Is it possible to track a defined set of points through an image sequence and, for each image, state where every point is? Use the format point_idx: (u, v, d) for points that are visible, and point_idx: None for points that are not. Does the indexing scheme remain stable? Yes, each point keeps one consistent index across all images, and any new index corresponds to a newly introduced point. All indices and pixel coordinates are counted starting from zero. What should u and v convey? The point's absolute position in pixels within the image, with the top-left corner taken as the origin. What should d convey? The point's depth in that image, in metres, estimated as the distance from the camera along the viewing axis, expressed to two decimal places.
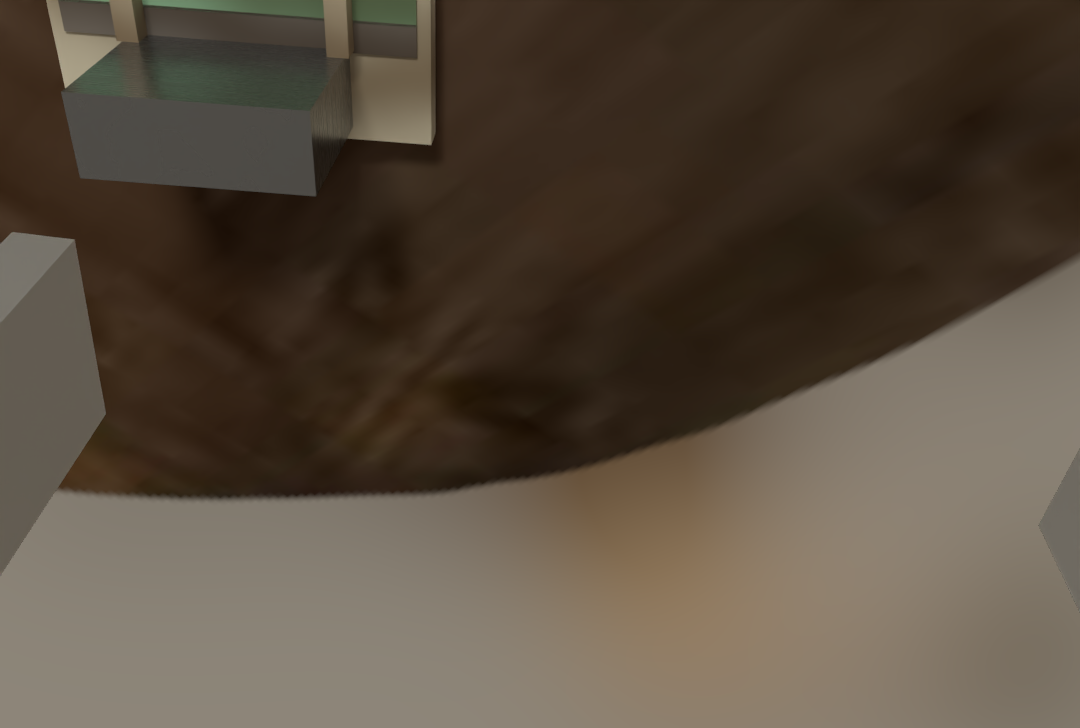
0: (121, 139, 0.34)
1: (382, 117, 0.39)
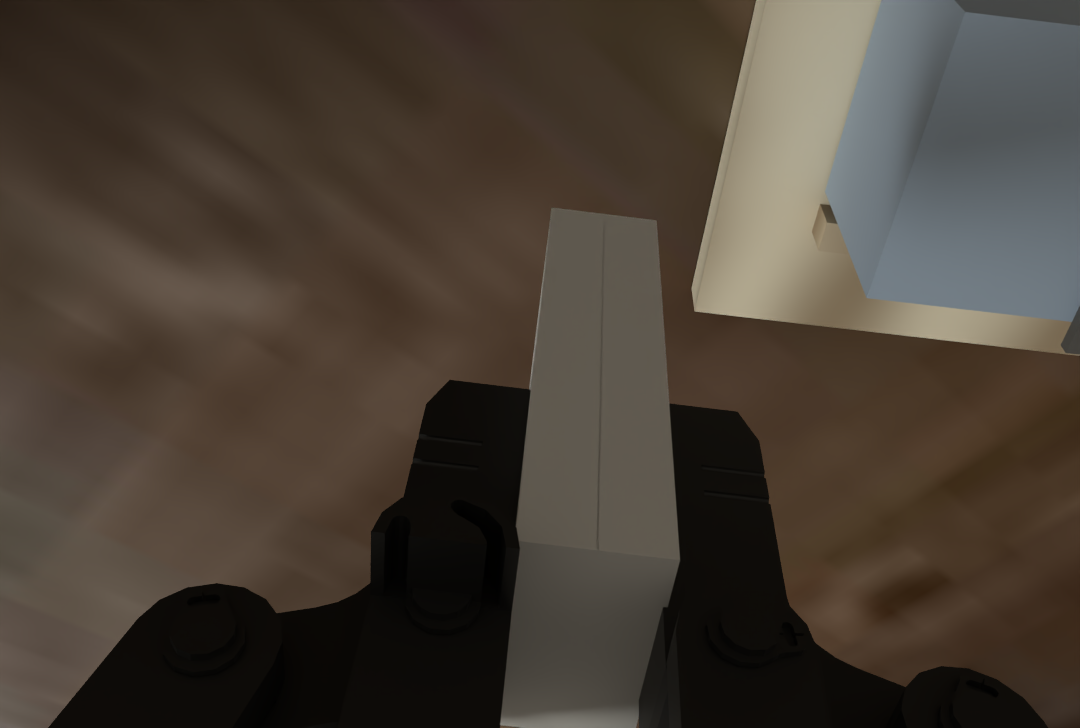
0: None
1: None
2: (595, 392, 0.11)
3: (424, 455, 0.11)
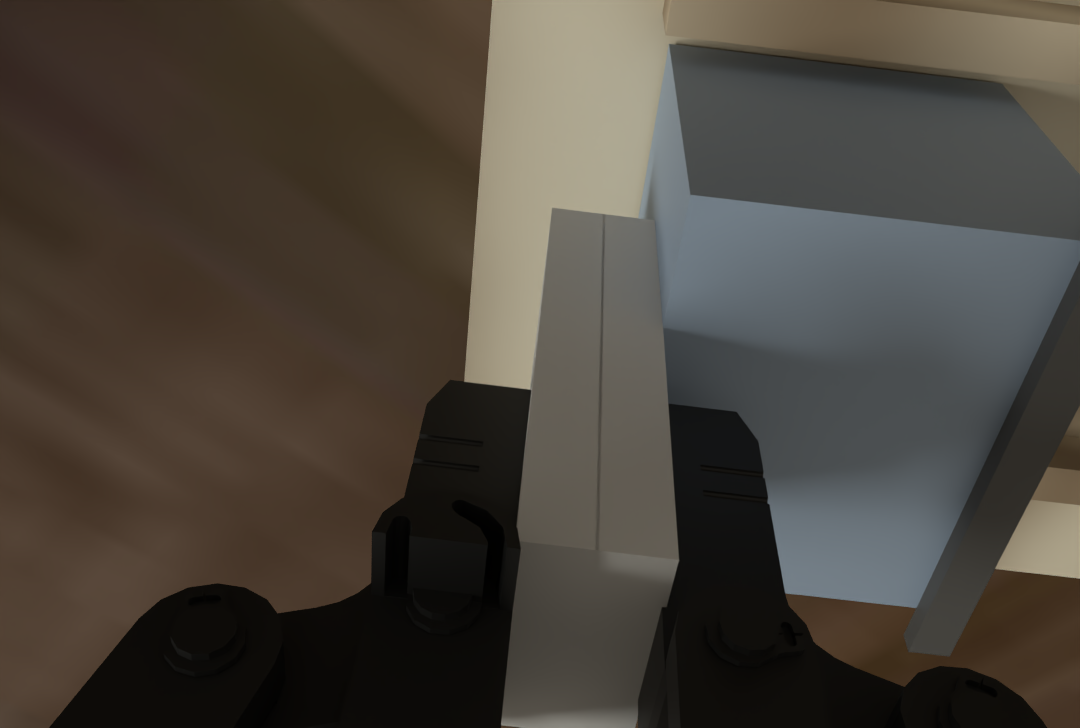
0: None
1: None
2: (595, 392, 0.11)
3: (425, 455, 0.11)
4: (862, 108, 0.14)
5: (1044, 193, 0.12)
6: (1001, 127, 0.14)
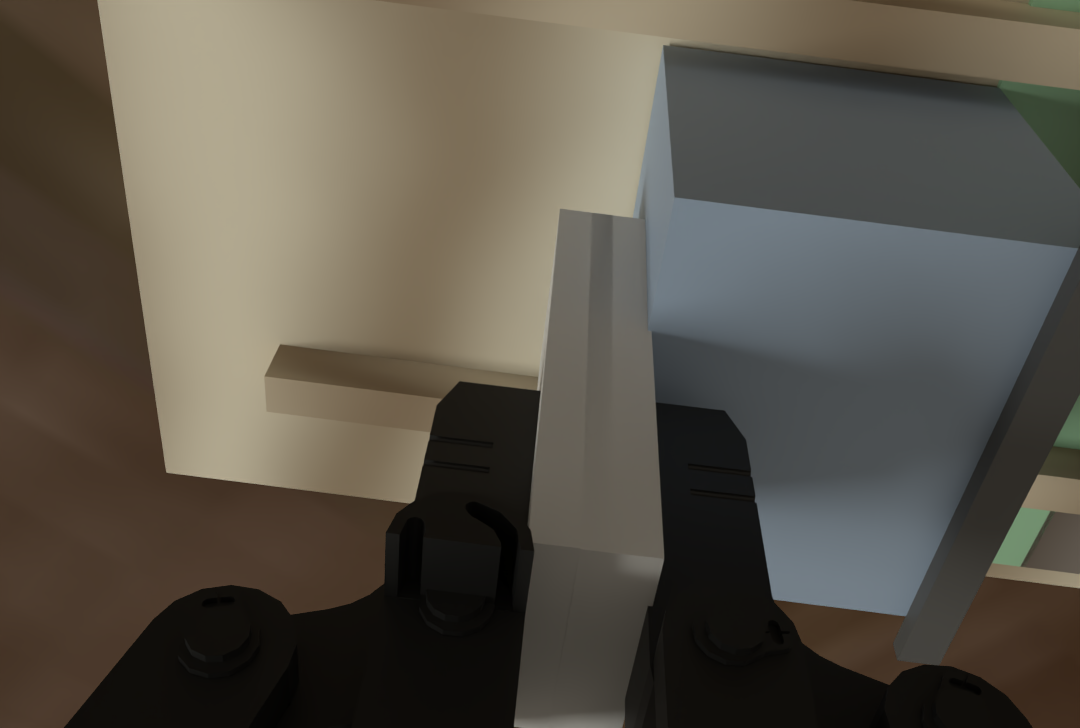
0: None
1: None
2: (606, 393, 0.11)
3: (435, 456, 0.11)
4: (855, 111, 0.14)
5: (1036, 199, 0.12)
6: (996, 132, 0.14)
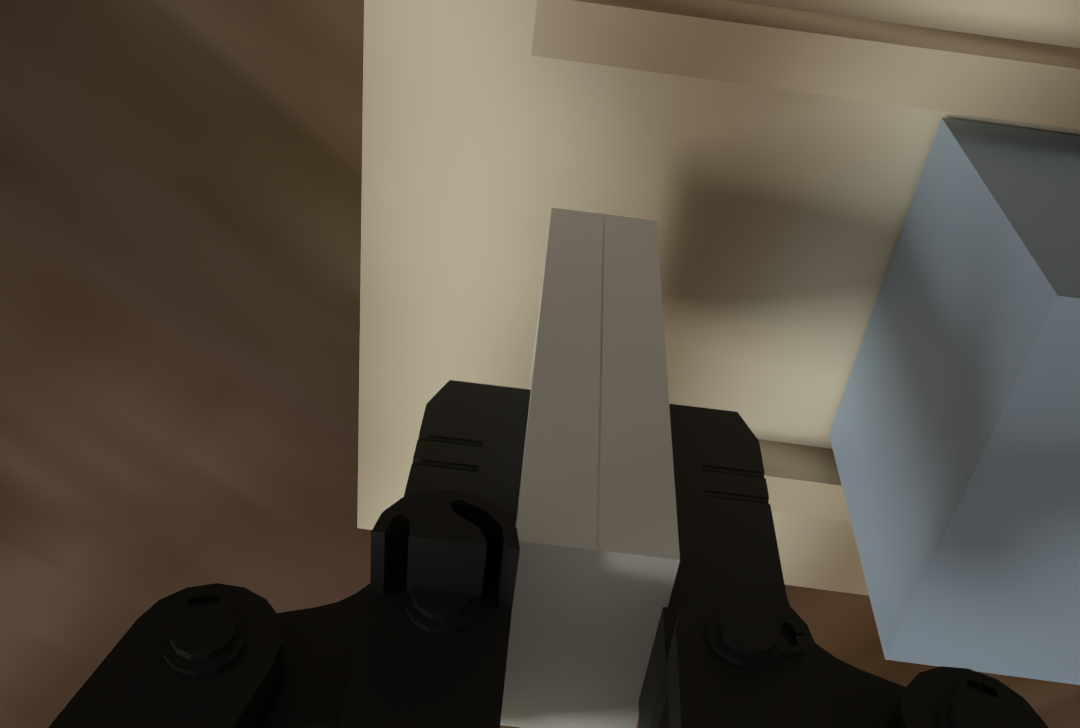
0: None
1: None
2: (595, 392, 0.11)
3: (424, 455, 0.11)
4: None
5: None
6: None
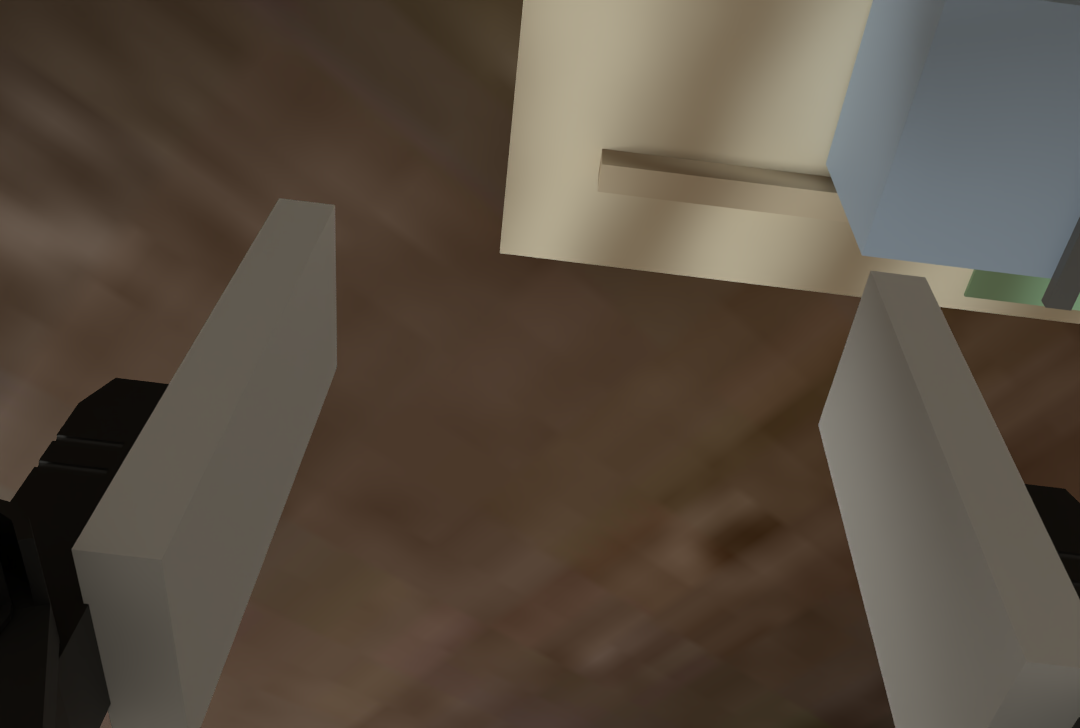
0: None
1: None
2: (237, 391, 0.10)
3: (54, 457, 0.10)
4: None
5: None
6: None
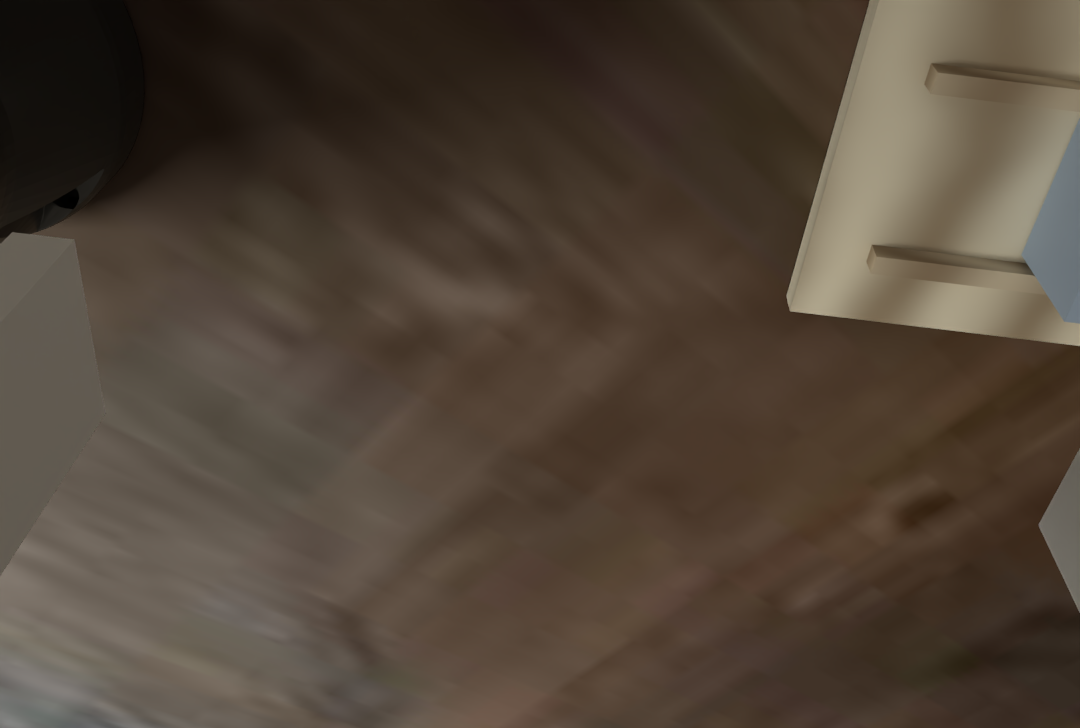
0: None
1: None
2: None
3: None
4: None
5: None
6: None
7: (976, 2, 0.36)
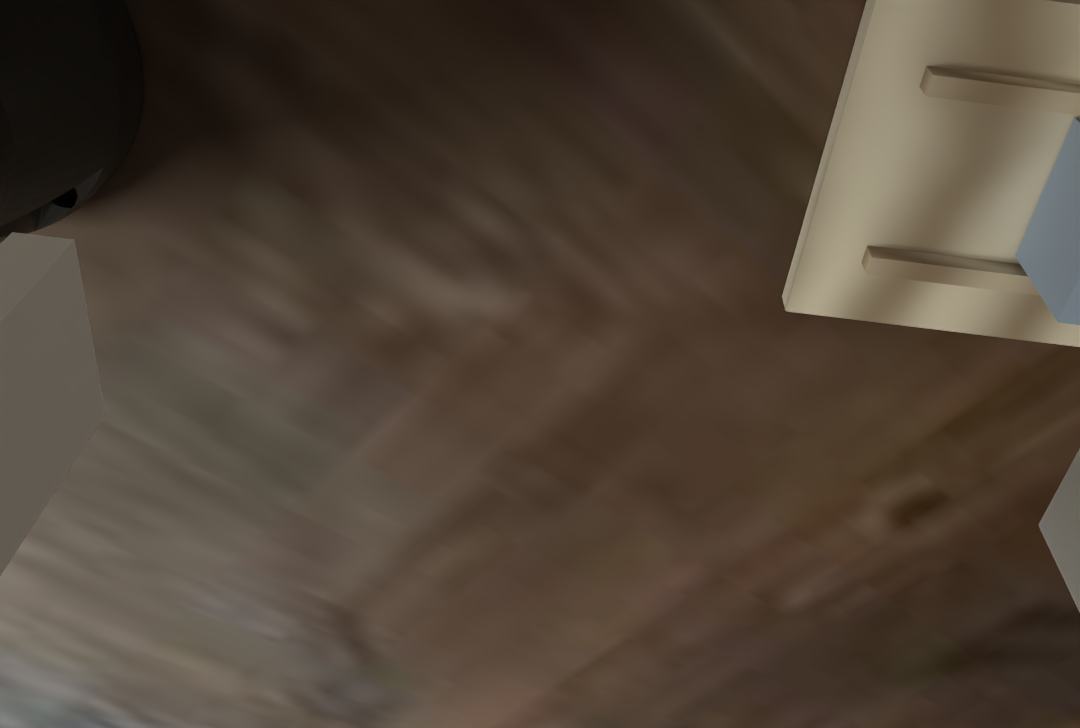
0: None
1: None
2: None
3: None
4: None
5: None
6: None
7: (971, 5, 0.37)
